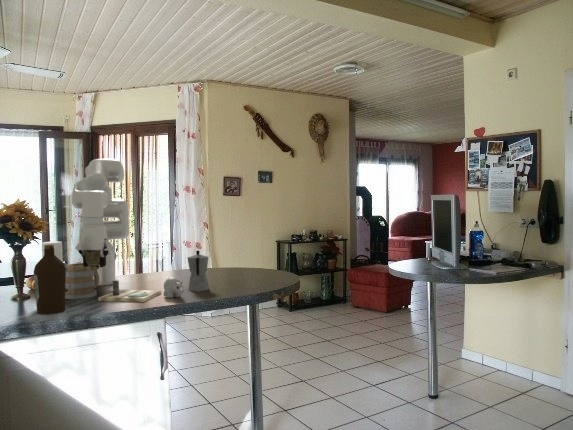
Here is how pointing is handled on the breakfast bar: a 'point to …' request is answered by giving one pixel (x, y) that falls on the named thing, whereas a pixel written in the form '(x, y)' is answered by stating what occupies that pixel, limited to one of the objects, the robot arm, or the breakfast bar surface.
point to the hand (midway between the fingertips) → (94, 266)
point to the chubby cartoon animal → (173, 287)
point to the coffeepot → (198, 272)
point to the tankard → (80, 281)
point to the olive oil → (50, 283)
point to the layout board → (129, 294)
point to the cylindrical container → (56, 249)
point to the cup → (93, 259)
